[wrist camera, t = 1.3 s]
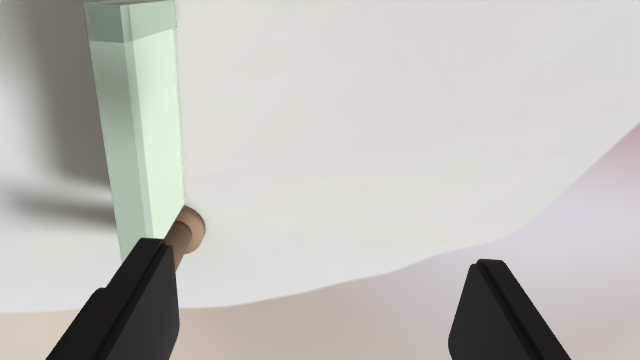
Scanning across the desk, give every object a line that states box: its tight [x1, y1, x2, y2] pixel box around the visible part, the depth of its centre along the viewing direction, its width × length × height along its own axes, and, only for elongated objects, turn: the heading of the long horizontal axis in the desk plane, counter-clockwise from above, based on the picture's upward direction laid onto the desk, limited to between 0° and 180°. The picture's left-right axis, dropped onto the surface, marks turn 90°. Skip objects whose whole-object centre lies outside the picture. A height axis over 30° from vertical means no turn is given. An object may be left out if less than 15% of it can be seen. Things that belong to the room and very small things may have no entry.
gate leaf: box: [83, 0, 185, 263], centre depth 25 cm, size 14×2×8 cm, turn 175°
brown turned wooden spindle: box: [164, 206, 205, 272], centre depth 27 cm, size 4×4×12 cm
